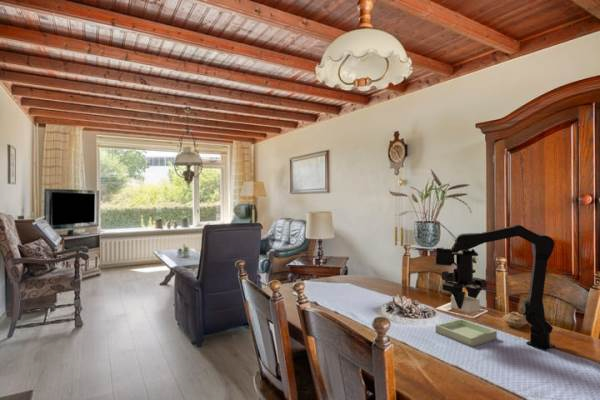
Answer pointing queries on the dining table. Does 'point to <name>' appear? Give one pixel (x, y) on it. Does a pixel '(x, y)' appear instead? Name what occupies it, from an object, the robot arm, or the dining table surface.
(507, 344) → the dining table surface
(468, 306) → the small crate
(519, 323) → the pottery oil lamp
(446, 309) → the photo frame
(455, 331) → the green tray
